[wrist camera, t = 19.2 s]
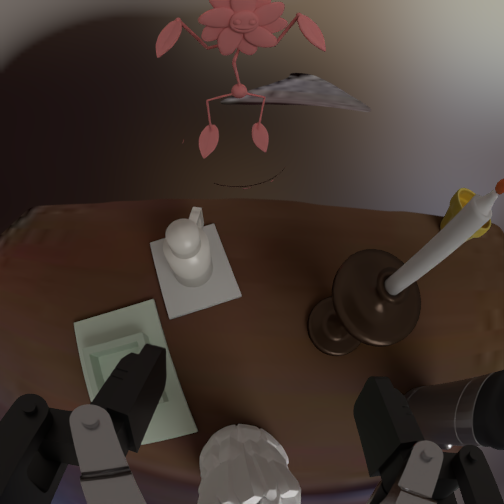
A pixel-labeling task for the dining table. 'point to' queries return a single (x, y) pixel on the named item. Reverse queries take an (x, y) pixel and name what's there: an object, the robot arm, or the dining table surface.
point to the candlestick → (387, 287)
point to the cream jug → (189, 250)
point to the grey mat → (204, 296)
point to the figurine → (239, 46)
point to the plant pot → (456, 206)
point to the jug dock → (133, 340)
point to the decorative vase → (246, 469)
